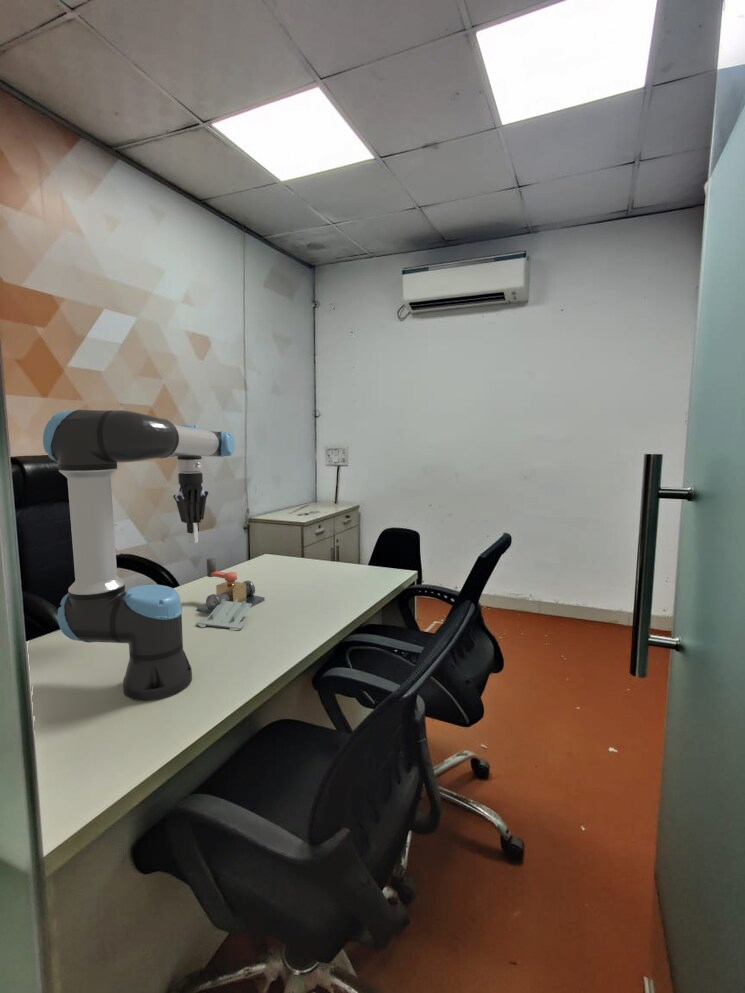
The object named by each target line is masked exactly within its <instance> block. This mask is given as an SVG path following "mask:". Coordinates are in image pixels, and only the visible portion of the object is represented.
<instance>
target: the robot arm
mask: <svg viewBox="0 0 745 993" xmlns="http://www.w3.org/2000/svg"><path fill="white" fill-rule="evenodd" d="M235 444H236V443H235V436H233V433H231V432H230V431H223V430H222V431H213V430H208V429H207V430H206V429H201V427H200V426H199V425H197V424H195V425H194V424H192V425H189V424H178V425H177V424H174V423H173V422H172V421H170V420H168V419H165V418H161V417H158V416H154V415H153V416H152V415H149V414H144V413H140V412H136V411H131V410H124V409H123V410H121V409H115V410H106V409H105V410H97V409H96V410H93V409H91V410H90V409H73V410H72V409H71V410H63V411H59V412H57V413H55V414H54V415H52V417H51V418H50V420H47V423H46V425H45V427H44V430H43V434H42V446H43V449H44V452H45V453H46V454H47V456H48V458H49V459H51V460H52V461H54V462H56V463H58V464H57V465H58V472H59V473H60V474H62V475H63V476H64V477H65V478H66V479H67V488H68V489H67V490H68V492H67V493H68V500H69V502H68V504H69V516H70V527H71V529H70V530H71V541H72V542H71V543H72V553H73V554H72V555H73V567H74V578H75V580H74V582H72V583H71V585H70V586H69V587H68V592H67V594H65V595H64V596H63V597H62V599H61V601H60V607H59V606H58V610H57V623H58V626H59V629H60V630H61V632H62V634H63V635H64V636H65V637H67V639H68V638H69V639H70V640H72V641H79V642H84V643H110V644H111V643H112V644H115V643H116V644H128V653H129V659H128V663H127V667H126V670H125V675H124V677H123V680H122V690H123V695H124V697H127V698H129V699H131V700H136V701H143V702H144V701H146V702H147V701H155V700H161V699H164V698H169V697H171V696H173V695H176V694H178V693H180V692H182V691H183V690H185V689H186V688H187V687H189V685H190V684H191V683H192V681H193V670H192V666H191V664H190V662H189V659H188V657H187V655H186V652H185V649H184V644H183V643H184V642H183V638H184V635H183V620H182V618H183V616H182V614H183V607H182V603H181V596H180V594H179V593H178V591H177V590H176V589H174V588H173V587H170V586H168V585H162V584H151V583H150V584H147V585H146V584H142V585H136V586H133V587H131V588H129V589H128V590H127V591H126V583H125V580H124V579H122V578H121V577H119V576H118V569H117V568H118V566H117V565H118V564H117V554H116V553H117V552H116V538H115V537H116V536H115V521H114V520H115V519H114V508H113V507H114V506H113V505H114V504H113V494H112V489H113V488H112V476H113V475H114V473H115V472H117V470H118V463H132V462H139V461H146V460H153V459H165V458H166V459H167V458H173V457H177V458H176V459H177V472H179V473H178V476H177V478H178V484H179V490H178V493H177V494H174V495H173V499H174V500H175V502H176V506H177V511H178V513H179V518H180V521H181V523H185V524H186V532H187V534H188V542H189V543H193V544H196V543H198V542H199V532H200V524H199V523H202V521H203V520H204V517H205V509H206V503H207V497H208V495H209V491H207V490H204V489H203V486H202V484H203V483H204V479H203V473H202V471H203V458H202V457H220V458H223V457H230V456H232V455H233V454H234V452H235V448H236V447H235Z"/></svg>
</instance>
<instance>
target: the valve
mask: <svg viewBox="0 0 745 993" xmlns="http://www.w3.org/2000/svg"><path fill="white" fill-rule="evenodd" d="M255 587H256V586H255V584H254V583H253V582H252V581H251V580H245V581H243V582H240V581H236V580H235V581H225V582H222V583H218V584H215V589H216V591H215V592H216V593H213V594H209V595H208V596H207V597H206V599H205V603H203V604H200V605H198V606H196V610H197V611H198V612H203V613H207V614H211V613H212V611H213V610H214V609H215V608H216V606H217V605H220V604H221V601H222V599H225V600H226V601H231V602H235V600H236V599H238V602H240V603H243V601H244V602H245V601H246V603H249V604H252V605H251V607H250V608H252V607H254V606H256V605H258V604H261V603H263V602H264V601H265V600H266V599H265V597H264V596H260V595H255V593H256V588H255ZM225 600H224V601H225ZM249 606H250V605H249Z"/></svg>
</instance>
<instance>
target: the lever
mask: <svg viewBox="0 0 745 993" xmlns="http://www.w3.org/2000/svg"><path fill="white" fill-rule="evenodd" d="M216 562H217V560H216V558H213V557H210V558H207V559H206V575H207V576H206V577H207V578H220V579H224V581H225V582H227V581H235V582H236V581H237V580H238V573H237V572H236V571H235V572H234V571H233V572H232V571H230V572H229V571H228V572H223V571H218V570H217V564H216Z"/></svg>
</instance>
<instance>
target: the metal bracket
mask: <svg viewBox="0 0 745 993" xmlns="http://www.w3.org/2000/svg"><path fill="white" fill-rule="evenodd" d="M224 600H225V599H222V601H221V604H220V605H217V606H216V608H215V609H214V610H213V611H212V613H209V615H208V616H207V617H202V616H201V617H200V618H199V619H198V621H197V622H196V625H197V626H199V627H200V628H205V627H206V626H211V627H216V628H217V627H218V628H226V629H229V631H230V632H234V631H240V630H242V629H243V627H244V626H245V624H246V623H245V622H243V621H242V619H243V618H244V617H245V615H246V614H247V612H248V611H249V610H250V609H251V608H252V607H251V605H252V604H249V603H246V601H245V602H244V601H243V603H240V602H238V599H236V600H235V602H231V601H226V600H225V601H224ZM249 605H250V606H249ZM241 621H242V622H241Z"/></svg>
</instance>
